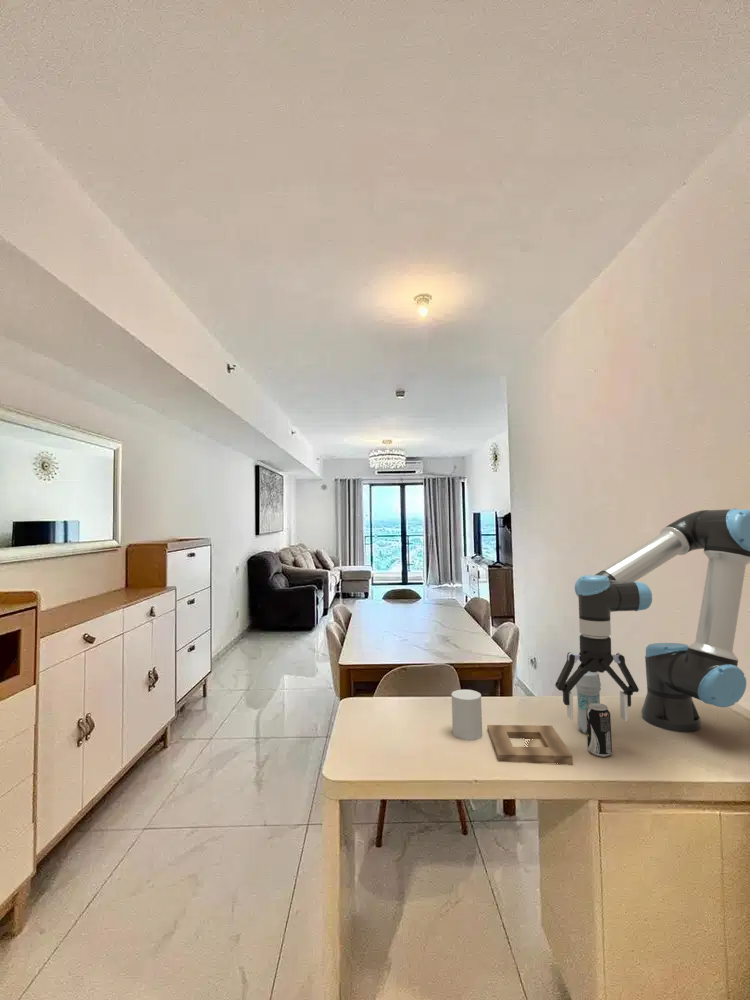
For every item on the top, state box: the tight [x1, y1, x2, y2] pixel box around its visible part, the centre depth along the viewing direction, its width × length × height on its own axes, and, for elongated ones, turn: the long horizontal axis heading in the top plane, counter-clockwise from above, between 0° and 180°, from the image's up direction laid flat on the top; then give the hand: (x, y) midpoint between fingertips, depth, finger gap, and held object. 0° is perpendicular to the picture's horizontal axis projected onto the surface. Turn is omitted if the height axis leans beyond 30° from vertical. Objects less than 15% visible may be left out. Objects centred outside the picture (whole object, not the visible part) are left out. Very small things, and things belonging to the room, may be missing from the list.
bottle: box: [575, 671, 602, 735], centre depth 140 cm, size 7×7×20 cm
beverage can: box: [586, 702, 613, 758], centre depth 127 cm, size 6×6×12 cm
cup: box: [451, 689, 483, 741], centre depth 138 cm, size 8×8×12 cm
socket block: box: [486, 724, 574, 766], centre depth 130 cm, size 18×18×2 cm
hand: (597, 718), depth 127 cm, fingers open, 13 cm apart
